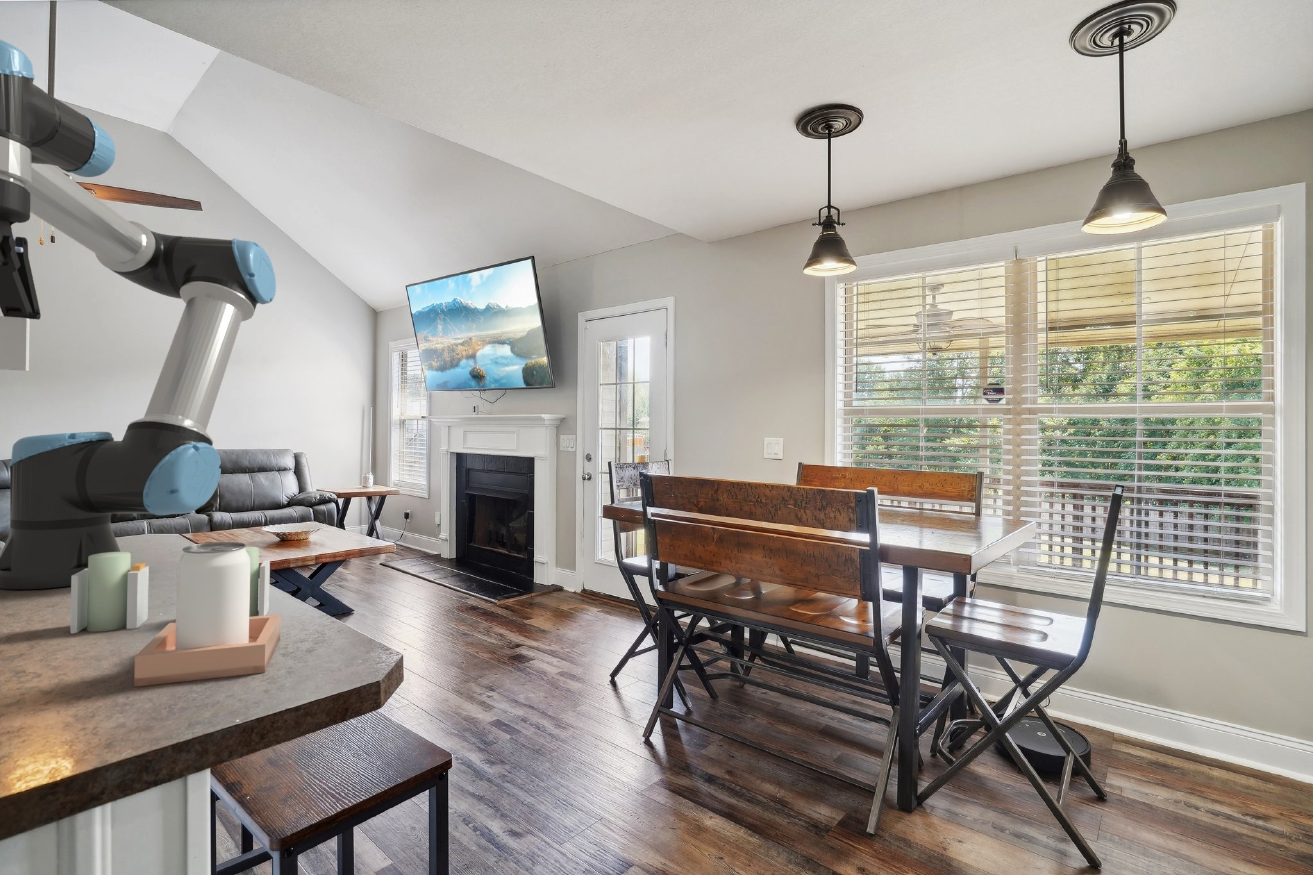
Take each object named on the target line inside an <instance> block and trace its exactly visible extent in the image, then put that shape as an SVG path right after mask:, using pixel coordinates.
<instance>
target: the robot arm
mask: <svg viewBox="0 0 1313 875" xmlns="http://www.w3.org/2000/svg"><path fill="white" fill-rule="evenodd" d="M33 72H34V71H33V63H32V60H31V59H29V56H28V55H27V54H26V53H25V52H24V51H22V49H20V48H18V47H16V46H15V45H13V44H12V43H9V42H8V41H4V40H2V39H0V311H1V314H2V315H3V316H2V315H0V370H7V371H24V372H25V371H28V372H29V371H30V336H31V335H30V328H31V327H30V325H31V324H30V322H31V320H41V315H42V314H41V310H40V309H41V308H40V306H39V305H40V304H39V300H38V296H37V291H36V287H35V285H36V284H35V282H34V276H33V272H32V268H31V264H30V258H29V242H28V238H26V237H24V236H16V235H14V234H13V229H12V225H14V224H22V223H23V224H24V223H26V222H28V221H29V220H30V219H31V214H33V215H34V216H36V217H38V218H39V219H41V220H42V221H44V222H46V223H47V224H48V225H50V226H51V227H53V228H55V229H56V230H58V231H60V232H62V233H63V234H64V235H65V236H67V237H68V238H70V239H72V240H74V241H75V242H77V243H79V244H80V245H82V246H83V247H85V248H87V249H88V250H90V252H93V253H94V254H95V257H96V259H97V260H98V262H100V264H101V265H102V266H104V267H105V268H107V269H109V270H110V271H112V272H113V273H115V274H117V275H119V276H120V277H122V278H124V279H126V280H128V281H129V282H131V283H134V284H136V285H137V286H140V287H143V288H145V289H146V290H147V289H148V290H149V291H152V292H154V293H157V294H159V295H162V296H166V297H170V298H174V299H180V300H182V301H183V302H184V303H185V307H184V309H183V311H182V314H181V317H180V320H179V322H178V325H177V327H176V330H175V334H174V335H173V338H172V341H171V344H170V346H169V349H168V351H167V355H166V358H165V360H164V363H163V366H162V368H161V370H160V373H159V375H158V378H157V381H156V384H155V386H154V389H153V392H152V395H151V397H150V400H149V403H148V405H147V408H146V411H145V413H144V416H143V417H142V418H139V419H136V420H133V421H131V422H130V423H129V424H128V425H127V428H126V430H125V433H124V435H123V438H122V439H121V440H115V438H114V437H113V434H112V433H111V432H109V431H84V432H81V431H80V432H69V433H68V432H67V433H52V434H51V433H50V434H40V435H32V436H25V437H21V438H20V439H18V440H17V441H16V442H15V443H13V445H12V450H11V457H10V458H11V459H10V462H9V465H8V467H9V518H10V519H9V520H10V521H9V534H8V537H7V539H6V541H5V544H4V546H3V547H2V550H1V552H0V589H5V590H39V589H40V590H41V589H54V588H61V587H62V588H63V587H71V576H72V575H74V574H76V573H78V572H80V571H82V570H84V569H88V557H89V556H90V555H94V554H99V553H107V552H122V551H121V549H120V547H119V545H118V544H119V543H118V542H117V539H116V536H115V534H114V531H113V530H112V525H111V524H112V520H111V515H112V514H125V515H126V514H131V515H132V514H133V515H135V514H136V515H140V514H141V515H142V514H143V515H155V516H169V515H178V514H180V515H181V514H183V515H184V514H189V513H193V512H194V511H197V510H198V509H199V508H202V507H203V506H204V505H205V504H206V503H207V502H208V501H209V500H210V499H211V498H212V496H213V495H214V493H215V491H216V489H217V487H218V485H219V481H220V479H221V474H222V469H221V468H220V466H221V464H222V462H221V457H220V454H219V452H218V450H216V448H215V447H214V446H213V444H214V441H213V439H212V437H211V436H210V435H209V433H208V432H207V429H208V425H209V423H210V419H211V416H212V415H213V414H212V413H213V410H214V408H215V405H216V401H217V398H218V396H219V391H220V388H221V386H222V383H223V379H224V376H225V374H226V371H227V366H228V364H229V360H230V358H231V355H232V351H233V348H234V345H235V342H236V339H237V336H238V332H239V330H240V327H241V323H242V322H246V321H249V320H250V319H252V318H253V316H254V315H255V314H254V313H255V311H256V308H257V305H258V304H260V305H266V304H270V303H272V302H273V300H274V299H275V296H276V292H277V290H276V289H277V281H276V274H275V271H274V266H273V264H272V261H271V258H270V256H269V254H268V252H266V250H265V249H264V247H262V246H261V245H260V244H259V243H257V242H255V241H250V240H241V239H238V238H233V239H221V238H212V237H211V238H209V237H198V236H197V237H195V236H184V235H183V236H181V235H169V234H165V233H160V232H156V231H152V230H151V229H149V228H148V227H146V225H143V224H142V223H140V222H138V221H134V220H133V221H132V220H127V219H126V218H124V217H123V216H122V215H121V214H119V213H118V212H116V211H115V210H114V209H112V208H111V207H110V206H108V205H107V204H106V203H104V202H103V201H102V200H101V199H99V198H97V197H96V196H95V195H93V194H92V193H91V192H90V191H88V190H86V189H85V188H84V187H83V186H82V185H80V184H79V183H77V182H76V181H74V180H73V179H72V178H70V177H69V176H68V175H67V174H66V173H70V174H74V175H77V176H78V177H84V178H94V177H98V176H102V175H103V174H105V173H106V172H107V171H109V170H110V169H111V167H112V166H113V165H114V163H115V159H116V146H115V142H114V140H113V139H112V136H110V134H109V133H108V132H107V131H106V130H105V129H104V128H102V127H101V126H100V125H98V124H97V123H95V122H94V121H93V120H92V119H91V118H89V117H88V116H87V115H86V114H83V113H81V112H79V111H77V110H75V109H74V108H72V107H70V106H69V105H67V104H66V103H64V102H62V101H60V100H58V99H57V98H56V97H54V96H52V95H51V94H49V93H47V92H46V91H44V90H43V89H42V88H40V87H39V86H37V85H35V84H34V80H35V74H34V73H33ZM57 167H58V168H57ZM60 169H61V170H62V171H61V170H60ZM63 171H64V172H66V173H64V172H63Z"/></svg>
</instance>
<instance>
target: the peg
mask: <svg viewBox="0 0 1313 875" xmlns="http://www.w3.org/2000/svg"><path fill="white" fill-rule="evenodd" d="M131 557H132V553H131V552H128V551H121V552H107V553H99V554H94V555H90V556H89V557H88V604H87V626H86V630H87V631H88V632H107V631H113V630H119V629H122V628H125V627H127V585H128V573H129V572H130V571H131V568H132V566H131V563H132V562H131V561H132V560H131V559H132V558H131Z"/></svg>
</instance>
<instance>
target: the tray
mask: <svg viewBox="0 0 1313 875" xmlns="http://www.w3.org/2000/svg"><path fill="white" fill-rule="evenodd" d="M281 616H282V614H281V613H279V614H269V615H268V614H266V615H265V616H259V615H257V616H253V617H249V643H242V644H231V645H220V646H209V647H199V648H188V649H177V650H175V647H176V622H169V623H168V624H167V625H166V626H165V627H163V629H161V631H159V633H158V634H157V635H155V636H154V638H153V639H151V640H150V641H149V642H148V643H147V644H146V645H144V646H143V648H142V649H141V650H140V651H139V652H138V653H137V654H136V655H135V656H134V674H133V675H134V677H133V678H134V680H133V682H134V684H133V685H134V686H133V687H136V688H137V687H145V686H154V685H162V684H174V683H179V682H180V683H181V682H189V681H190V682H191V681H200V680H209V679H216V678H217V679H218V678H226V677H236V676H245V675H253V674H262V673H266V671H267V668H268V666H269V665H270V663H271V662H270V661H271V659H272V657H273V655H274V653H275V651H276V648H277V646H278V644H279V643H280V641H281V618H282V617H281Z"/></svg>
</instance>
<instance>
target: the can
mask: <svg viewBox="0 0 1313 875" xmlns="http://www.w3.org/2000/svg"><path fill="white" fill-rule="evenodd" d="M245 547H247V544H246V543H243V542H238V541H237V542H236V541H217V542H205V543H203V542H202V543H198V544H197V543H196V544H191V545H188V546H185V547H183V548H182V552H183V554H182V555H181V557H180V558H179V561H178V563H177V566H176V567H177V568H176V593H175V594H176V600H175V604H176V605H175V623H176V647H175V650H177V649H188V648H199V647H209V646H220V645H231V644H242V643H249V606H250V557H249V555H248V553H247V552H246V549H245Z"/></svg>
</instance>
